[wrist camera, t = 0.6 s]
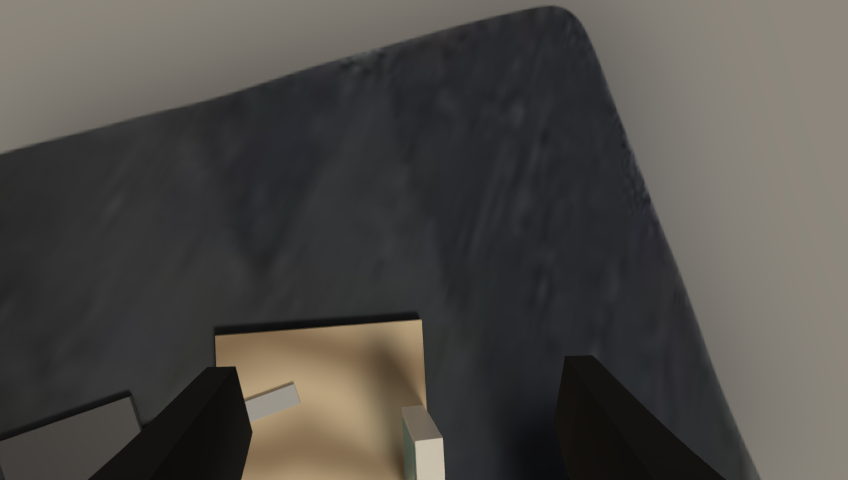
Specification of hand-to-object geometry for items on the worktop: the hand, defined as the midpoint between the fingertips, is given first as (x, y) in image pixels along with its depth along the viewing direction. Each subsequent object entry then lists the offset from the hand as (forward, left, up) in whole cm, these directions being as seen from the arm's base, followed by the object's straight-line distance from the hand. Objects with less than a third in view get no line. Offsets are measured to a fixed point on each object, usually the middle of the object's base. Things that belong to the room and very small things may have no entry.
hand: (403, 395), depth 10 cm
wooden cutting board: (-10, +3, -24) cm, 26 cm away
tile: (-10, -3, -23) cm, 25 cm away
